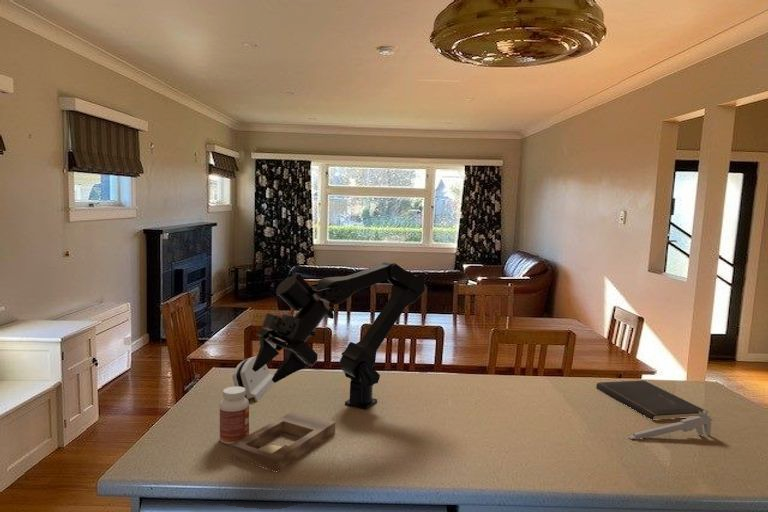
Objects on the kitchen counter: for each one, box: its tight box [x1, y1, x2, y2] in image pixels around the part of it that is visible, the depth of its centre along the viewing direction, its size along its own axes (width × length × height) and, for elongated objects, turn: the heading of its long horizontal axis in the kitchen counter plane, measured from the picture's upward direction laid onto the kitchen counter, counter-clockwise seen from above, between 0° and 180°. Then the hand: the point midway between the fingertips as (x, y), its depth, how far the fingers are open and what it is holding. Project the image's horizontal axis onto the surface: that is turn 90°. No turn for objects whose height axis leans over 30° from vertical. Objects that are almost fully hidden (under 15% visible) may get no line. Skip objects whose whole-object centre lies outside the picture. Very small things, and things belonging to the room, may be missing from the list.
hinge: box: [231, 355, 275, 403], centre depth 137 cm, size 17×5×10 cm, turn 175°
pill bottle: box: [219, 385, 250, 446], centre depth 107 cm, size 6×6×11 cm
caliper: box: [628, 409, 712, 440], centre depth 114 cm, size 20×1×6 cm, turn 99°
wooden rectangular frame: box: [230, 410, 336, 473], centre depth 106 cm, size 20×12×2 cm, turn 151°
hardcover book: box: [596, 379, 708, 420], centre depth 136 cm, size 16×23×2 cm
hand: (263, 375), depth 111 cm, fingers open, 9 cm apart
